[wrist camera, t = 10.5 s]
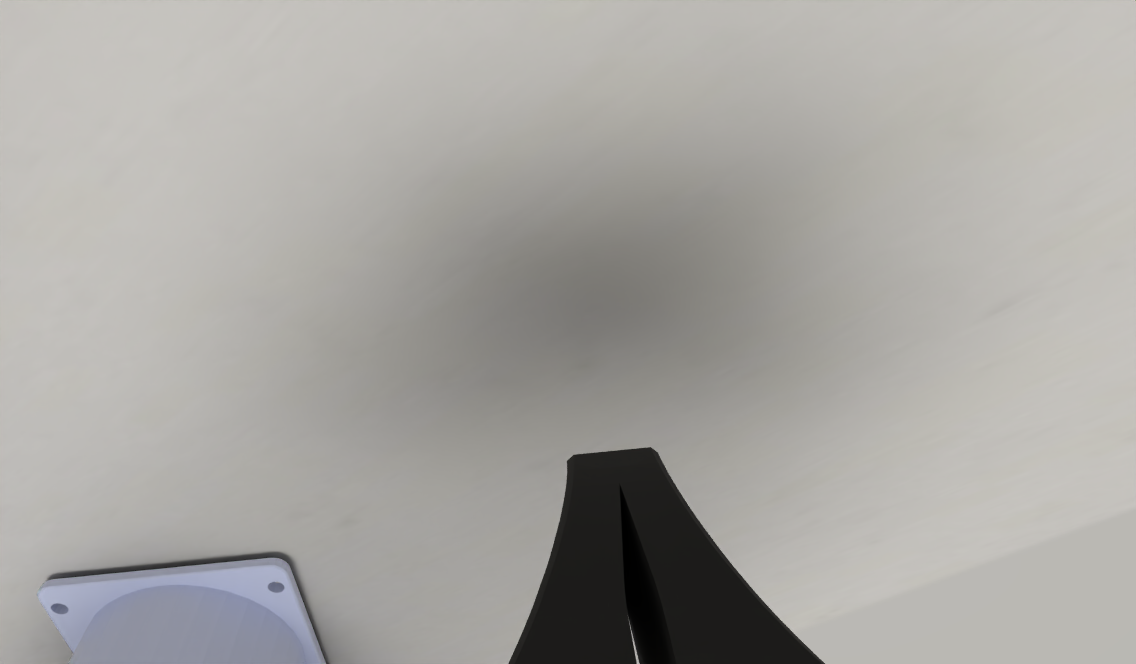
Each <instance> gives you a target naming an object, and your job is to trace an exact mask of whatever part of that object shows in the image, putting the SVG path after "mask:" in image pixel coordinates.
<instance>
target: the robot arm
mask: <svg viewBox="0 0 1136 664" xmlns="http://www.w3.org/2000/svg"><path fill="white" fill-rule="evenodd" d="M276 582H279V583H276ZM37 596H38V599H39V601H40V602H41V604H42V605H43V607H44V608H45V610H46V612H47V613H48V615H49V616H50V618H51V619H52V621H53V623H54V624H55V626H56V627H57V629H58V630H59V632H60V634H61V635H62V637H63V638H64V640H65V641H66V643H67V645H68V646H69V648H70V649H71V651H72V652H73V655H72V657H71V659H70V661H69V663H68V664H326V662H325V659H324V657H323V654H322V651H321V649H320V646H319V643H318V641H317V638H316V635H315V633H314V630H313V627H312V625H311V622H310V619H309V616H308V614H307V611H306V608H305V606H304V603H303V600H302V598H301V595H300V592H299V590H298V587H297V584H296V582H295V579H294V576H293V573H292V571H291V568H290V566H289V565H288V563H287V562H285V561H284V560H282V559H279V558H263V559H253V560H243V561H233V562H223V563H213V564H202V565H192V566H182V567H172V568H162V569H152V570H142V571H132V572H122V573H111V574H101V575H91V576H81V577H71V578H61V579H52V580H48V581H46V582H44V583H43V584H42V586H41V588H40V589H39V591H38V593H37ZM628 617H629V619H628ZM629 621H630V624H629ZM630 626H631V630H632V634H633V638H634V642H635V646H636V651H637V655H638V659H639V663H640V664H825V663H824V662H823V661H822V660H820V659H819V658H818V657H817V656H816V655H815V654H814V653H813V652H812V651H811V650H810V649H809V648H808V647H807V646H806V645H805V644H804V643H803V642H802V641H801V640H800V639H799V638H798V637H797V636H796V635H795V634H794V633H793V632H792V631H791V630H790V629H789V628H788V627H787V626H786V625H785V624H784V623H783V622H782V621H781V620H780V619H779V618H778V617H777V616H776V615H775V614H774V613H773V612H772V610H771V609H770V608H769V607H768V606H767V605H766V604H765V603H764V602H763V601H762V599H761V598H760V597H759V596H758V595H757V594H756V593H755V592H754V590H753V589H752V588H751V587H750V586H749V585H748V583H747V582H746V581H745V580H744V579H743V577H742V576H741V575H740V574H739V573H738V571H737V570H736V569H735V568H734V567H733V565H732V564H731V563H730V562H729V560H728V559H727V558H726V557H725V555H724V554H723V553H722V552H721V550H720V549H719V548H718V546H717V545H716V544H715V542H714V541H713V539H712V538H711V537H710V535H709V534H708V533H707V531H706V530H705V529H704V527H703V526H702V525H701V523H700V522H699V520H698V519H697V518H696V516H695V515H694V513H693V512H692V510H691V509H690V507H689V506H688V504H687V503H686V501H685V500H684V498H683V497H682V495H681V493H680V492H679V490H678V489H677V487H676V485H675V484H674V482H673V480H672V479H671V477H670V475H669V474H668V472H667V470H666V468H665V466H664V464H663V463H662V461H661V459H660V456H659V454H658V452H656V451H655V450H654V449H652V448H651V447H649V448H639V449H629V450H618V451H608V452H598V453H587V454H577V455H573V456H572V457H571V458H570V459H569V460H568V461H567V484H566V491H565V498H564V503H563V508H562V513H561V518H560V522H559V526H558V530H557V533H556V537H555V541H554V544H553V548H552V552H551V555H550V559H549V562H548V565H547V568H546V571H545V574H544V577H543V579H542V582H541V585H540V588H539V591H538V594H537V597H536V599H535V602H534V605H533V608H532V610H531V613H530V615H529V618H528V620H527V623H526V625H525V628H524V630H523V632H522V635H521V637H520V639H519V642H518V644H517V646H516V648H515V650H514V653H513V655H512V657H511V659H510V661H509V664H637V663H636V658H635V652H634V646H633V641H632V635H631V630H630Z"/></svg>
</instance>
